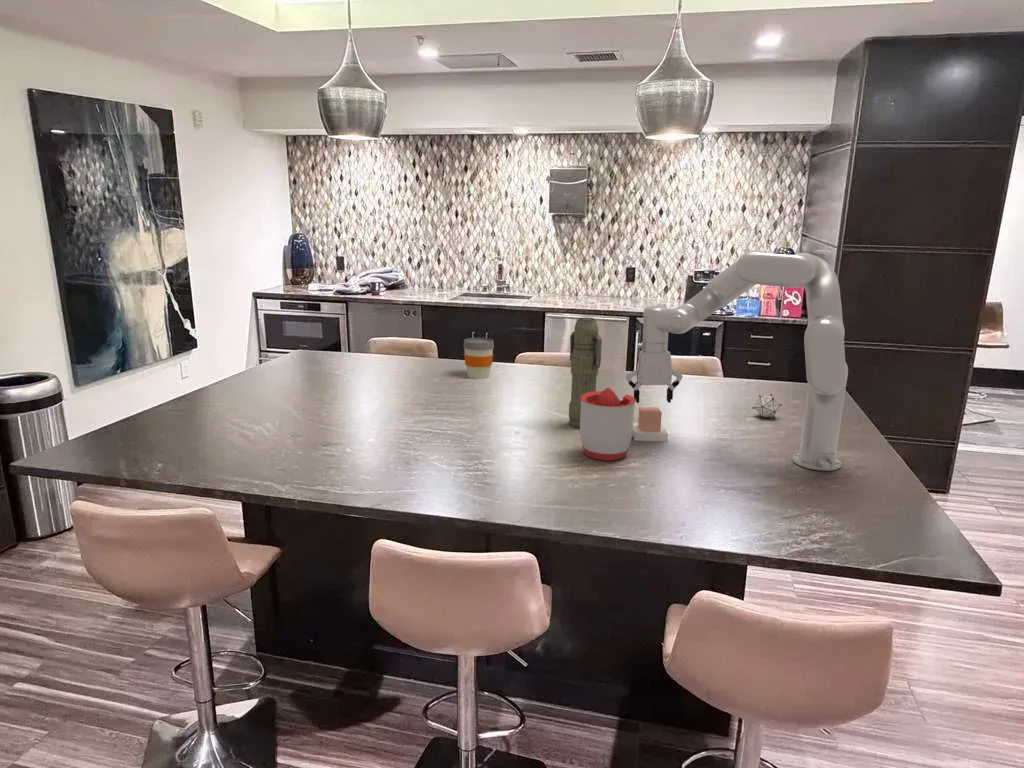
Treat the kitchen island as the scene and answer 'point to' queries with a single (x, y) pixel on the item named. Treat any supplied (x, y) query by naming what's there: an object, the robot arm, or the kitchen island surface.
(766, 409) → the game die
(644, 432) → the block
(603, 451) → the citrus juicer
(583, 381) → the thermos
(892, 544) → the kitchen island surface
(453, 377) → the kitchen island surface
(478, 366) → the reusable coffee cup
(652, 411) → the cube
